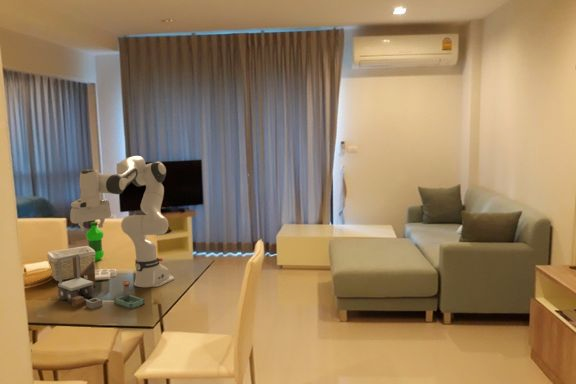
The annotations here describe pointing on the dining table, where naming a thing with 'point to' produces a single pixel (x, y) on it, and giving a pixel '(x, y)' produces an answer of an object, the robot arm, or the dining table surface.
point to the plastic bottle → (95, 240)
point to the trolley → (77, 286)
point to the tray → (133, 302)
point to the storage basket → (70, 261)
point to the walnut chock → (77, 301)
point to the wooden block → (85, 271)
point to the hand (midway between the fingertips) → (92, 229)
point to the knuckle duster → (103, 274)
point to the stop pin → (126, 291)
